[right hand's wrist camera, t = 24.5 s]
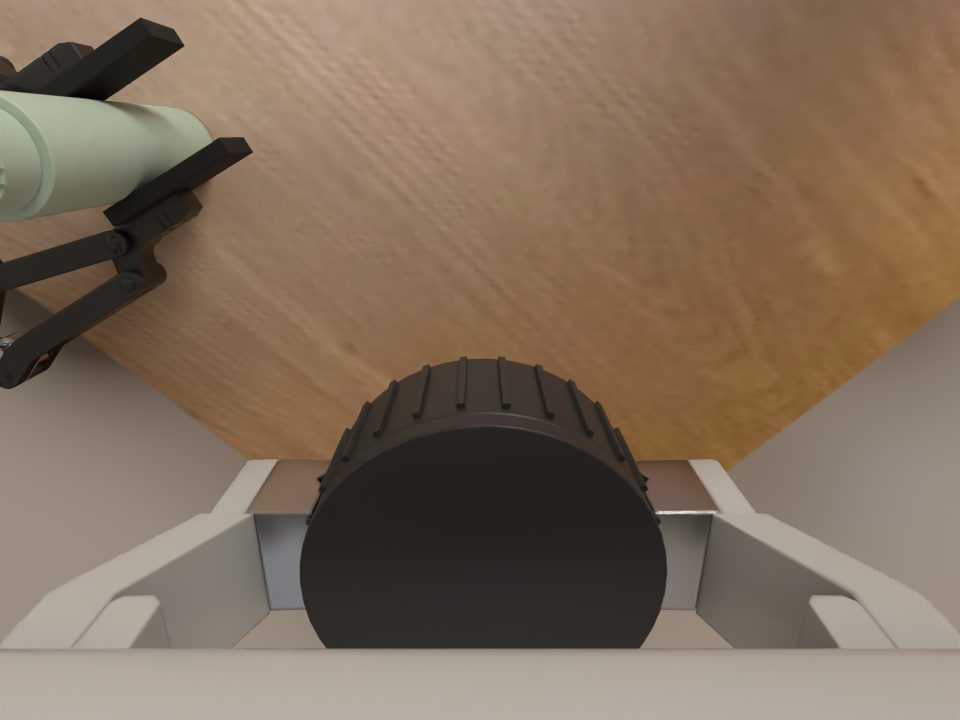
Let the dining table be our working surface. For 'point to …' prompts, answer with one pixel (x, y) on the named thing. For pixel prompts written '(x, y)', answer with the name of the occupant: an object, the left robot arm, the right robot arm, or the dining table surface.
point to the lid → (483, 520)
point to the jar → (85, 151)
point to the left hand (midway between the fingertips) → (200, 91)
